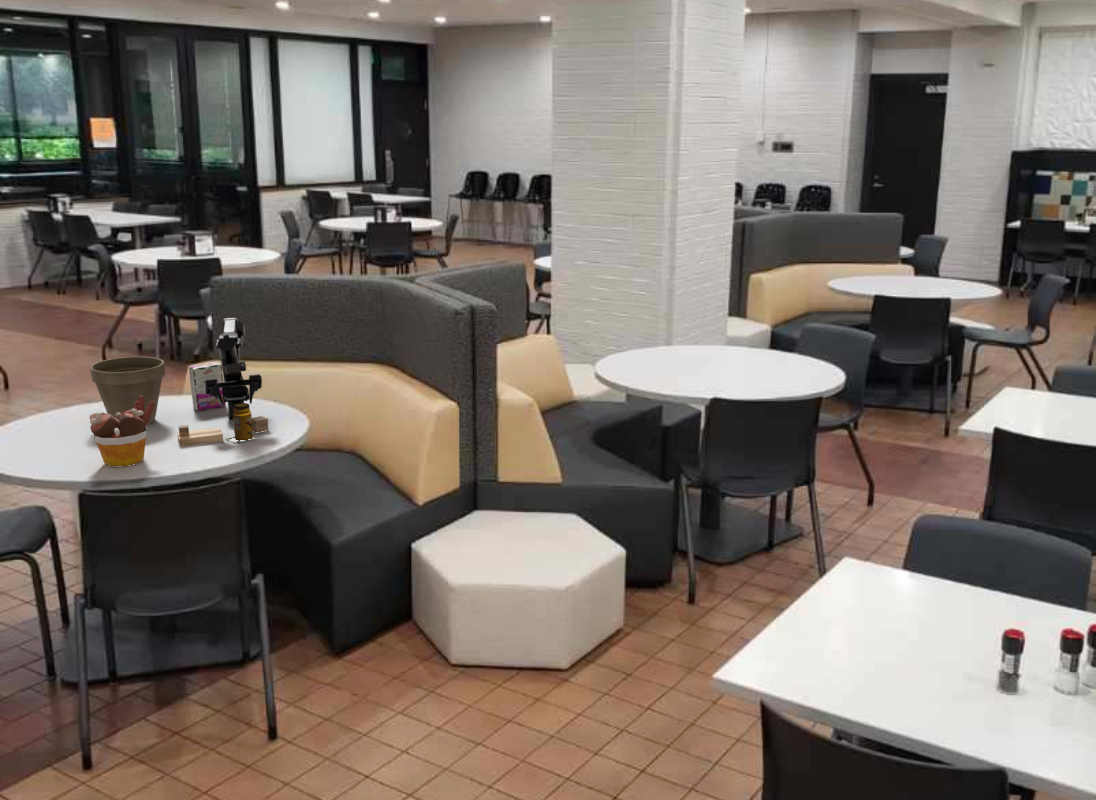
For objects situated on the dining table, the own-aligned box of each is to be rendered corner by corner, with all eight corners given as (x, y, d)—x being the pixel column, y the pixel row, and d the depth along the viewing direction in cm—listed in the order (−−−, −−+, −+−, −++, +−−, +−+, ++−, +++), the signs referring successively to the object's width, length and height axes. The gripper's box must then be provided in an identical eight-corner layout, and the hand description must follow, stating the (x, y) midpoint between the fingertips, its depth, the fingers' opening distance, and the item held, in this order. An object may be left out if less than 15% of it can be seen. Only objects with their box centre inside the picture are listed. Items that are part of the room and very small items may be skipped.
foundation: (177, 439, 368) (176, 423, 366) (220, 434, 373) (219, 419, 372) (179, 446, 360) (178, 430, 358) (223, 441, 365) (221, 425, 363)
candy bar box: (220, 404, 413) (216, 362, 409) (226, 406, 409) (222, 364, 405) (192, 409, 406) (188, 366, 402) (197, 411, 403) (193, 368, 398)
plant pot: (182, 422, 389) (175, 363, 384) (113, 436, 373) (105, 374, 368) (153, 409, 407) (147, 352, 402) (86, 422, 391) (79, 363, 386)
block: (250, 430, 377) (249, 418, 376) (262, 428, 380) (261, 416, 379) (256, 433, 374) (255, 421, 373) (268, 430, 377) (267, 418, 375)
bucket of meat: (112, 474, 332) (105, 412, 327) (82, 465, 342) (74, 404, 336) (168, 457, 348) (162, 398, 343) (138, 449, 357) (131, 391, 352)
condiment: (258, 438, 367) (255, 404, 364) (235, 444, 362) (232, 409, 359) (247, 434, 372) (244, 400, 369) (225, 439, 367) (221, 405, 364)
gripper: (202, 356, 366) (208, 395, 359) (258, 351, 372) (266, 389, 365) (202, 374, 375) (208, 412, 368) (257, 369, 382) (264, 406, 374)
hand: (237, 404), depth 368 cm, fingers open, 9 cm apart
